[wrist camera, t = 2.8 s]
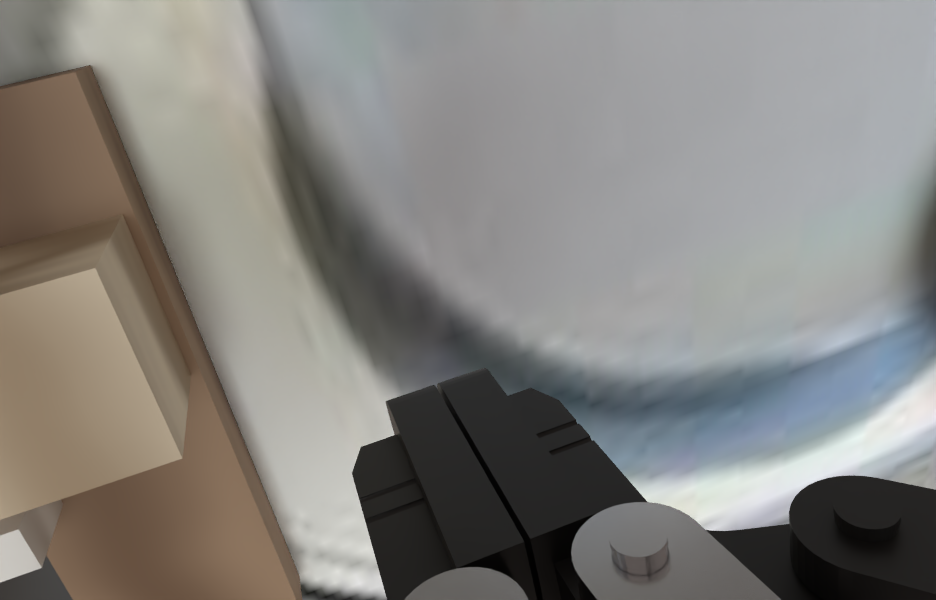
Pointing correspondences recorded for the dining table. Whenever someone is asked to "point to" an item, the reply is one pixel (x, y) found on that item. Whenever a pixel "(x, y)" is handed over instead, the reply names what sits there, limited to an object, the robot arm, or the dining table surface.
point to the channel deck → (208, 415)
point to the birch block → (83, 367)
